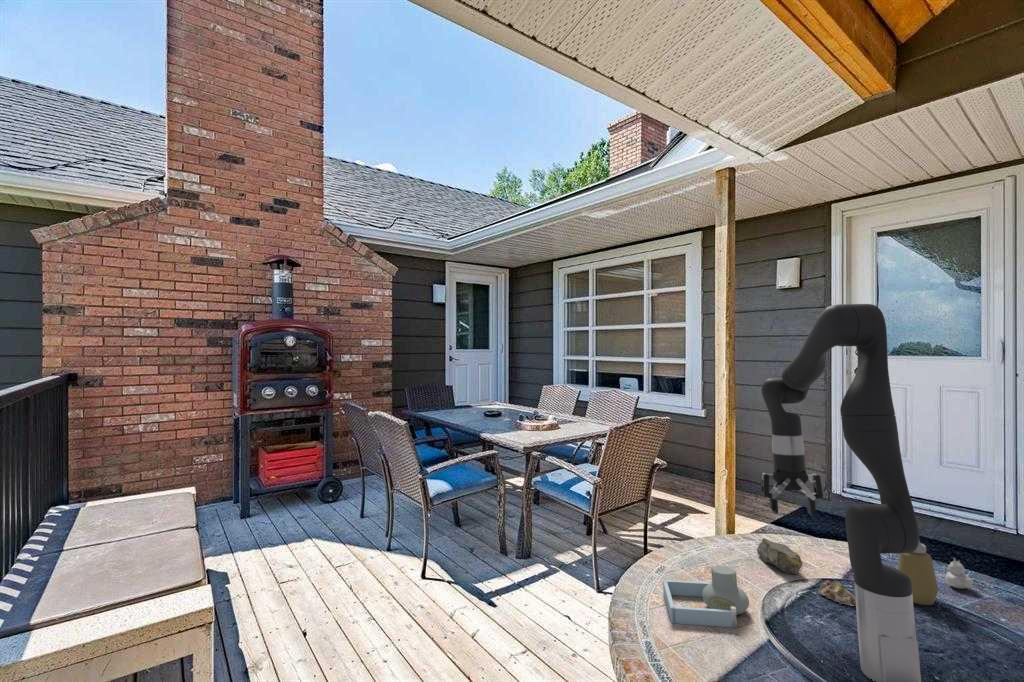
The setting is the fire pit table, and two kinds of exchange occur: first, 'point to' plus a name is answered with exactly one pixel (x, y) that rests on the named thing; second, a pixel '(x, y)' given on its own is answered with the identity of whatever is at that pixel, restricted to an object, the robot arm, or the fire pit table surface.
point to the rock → (779, 556)
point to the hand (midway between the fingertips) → (793, 513)
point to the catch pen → (695, 614)
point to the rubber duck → (958, 576)
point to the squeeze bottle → (920, 574)
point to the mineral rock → (837, 593)
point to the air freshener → (725, 591)
